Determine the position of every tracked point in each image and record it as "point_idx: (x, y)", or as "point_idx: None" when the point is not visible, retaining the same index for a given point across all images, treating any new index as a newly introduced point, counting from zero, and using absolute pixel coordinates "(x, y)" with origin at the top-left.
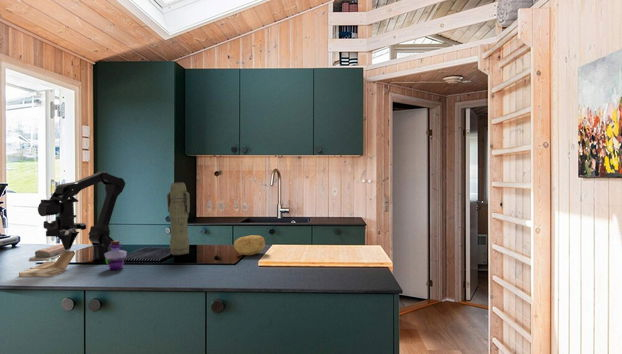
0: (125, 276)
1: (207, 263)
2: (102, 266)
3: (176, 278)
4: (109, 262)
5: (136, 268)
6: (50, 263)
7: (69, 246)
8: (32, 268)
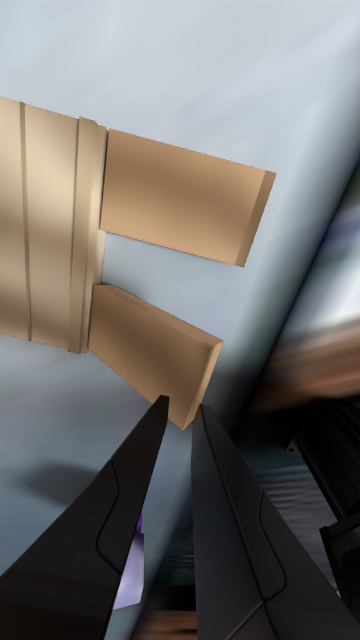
0: (28, 522)
1: (145, 620)
2: (168, 454)
3: None
4: None
5: None
6: (213, 225)
7: (195, 440)
8: (79, 148)
